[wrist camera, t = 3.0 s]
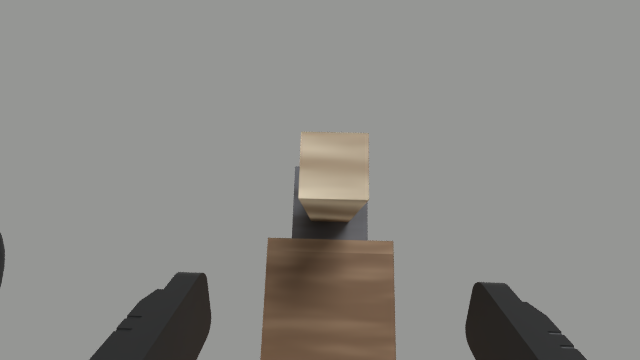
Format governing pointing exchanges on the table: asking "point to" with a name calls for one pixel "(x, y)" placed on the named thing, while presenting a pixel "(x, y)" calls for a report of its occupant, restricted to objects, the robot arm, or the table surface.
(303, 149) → the mallet
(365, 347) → the wooden block
